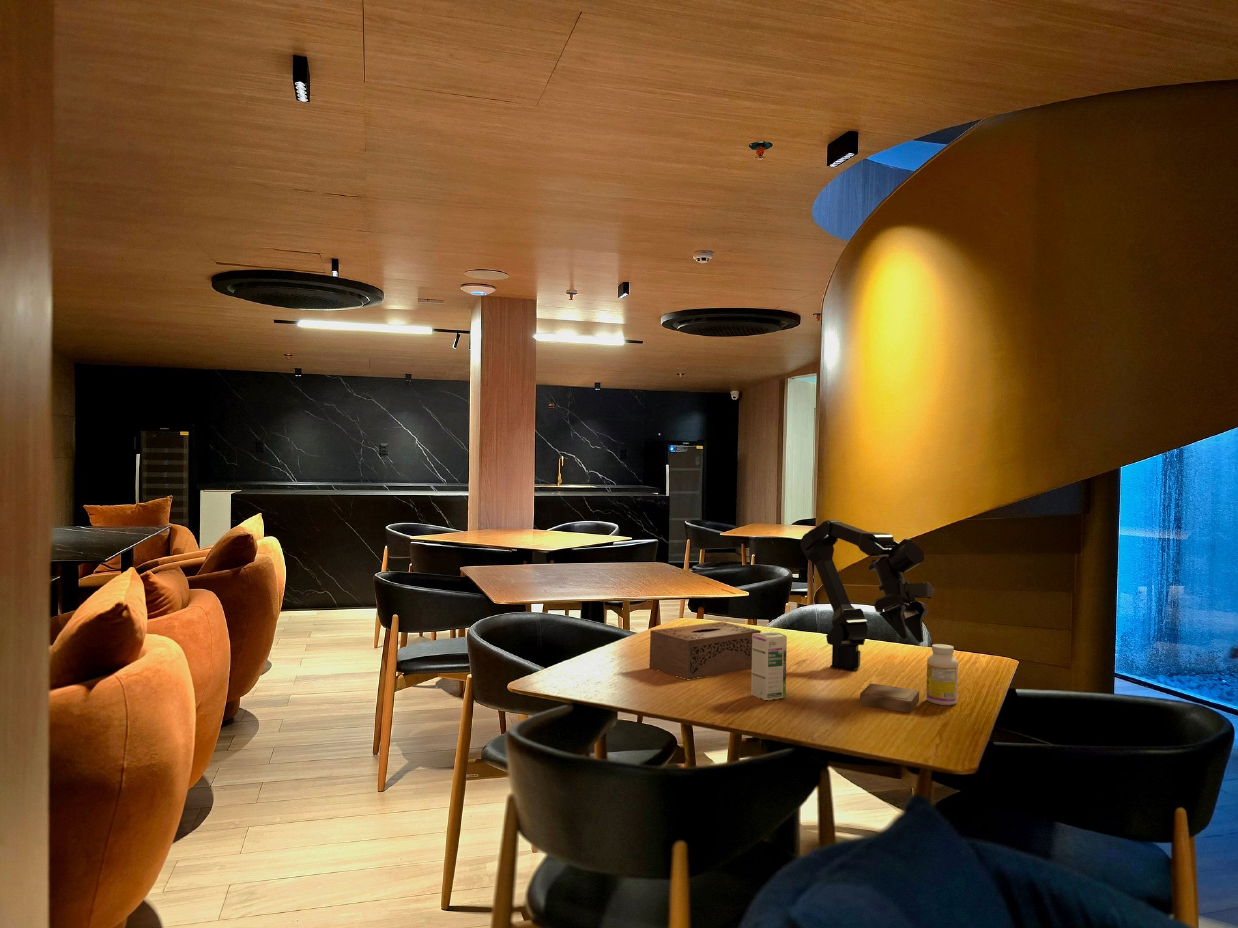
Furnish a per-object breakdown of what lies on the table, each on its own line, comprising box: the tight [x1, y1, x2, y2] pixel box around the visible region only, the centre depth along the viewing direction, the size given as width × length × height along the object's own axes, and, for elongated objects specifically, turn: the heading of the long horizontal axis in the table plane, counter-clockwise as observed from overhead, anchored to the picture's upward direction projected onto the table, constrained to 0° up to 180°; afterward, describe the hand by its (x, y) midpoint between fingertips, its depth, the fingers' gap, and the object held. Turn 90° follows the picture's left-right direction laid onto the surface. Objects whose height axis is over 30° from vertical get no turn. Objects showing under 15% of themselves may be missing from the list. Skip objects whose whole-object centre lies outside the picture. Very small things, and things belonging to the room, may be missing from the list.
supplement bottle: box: [925, 643, 959, 706], centre depth 194 cm, size 7×7×13 cm
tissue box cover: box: [648, 621, 762, 680], centre depth 221 cm, size 26×14×10 cm, turn 128°
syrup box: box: [750, 631, 788, 701], centre depth 194 cm, size 6×6×14 cm
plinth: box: [859, 682, 920, 714], centre depth 192 cm, size 11×11×3 cm
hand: (913, 640), depth 204 cm, fingers open, 9 cm apart
